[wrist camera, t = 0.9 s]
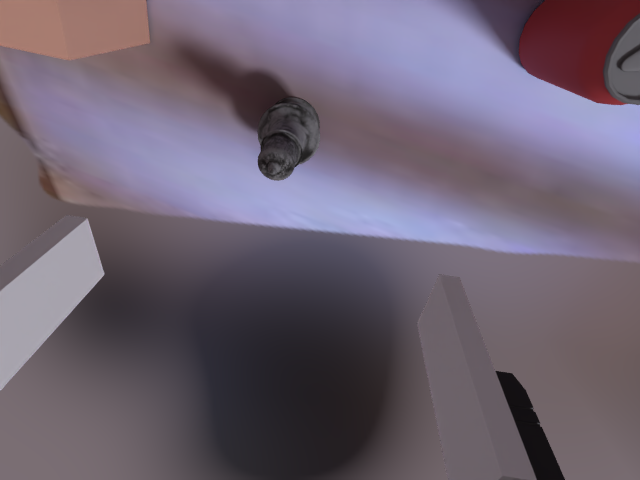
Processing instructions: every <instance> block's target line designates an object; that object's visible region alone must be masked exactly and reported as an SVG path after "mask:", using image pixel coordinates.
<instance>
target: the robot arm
mask: <svg viewBox="0 0 640 480" xmlns="http://www.w3.org/2000/svg"><path fill="white" fill-rule="evenodd" d="M103 275H104V272H103V268H102V265H101V262H100V259H99V255H98V252H97V248H96V245H95V242H94V238H93V235H92V232H91V228H90V225H89V222H88V219H87V218H81V217H75V216H69V215H66V216H65V217H63V218H62V219H61V220H60V221H58V222H57V223H56V224H54V225H53V226H52V227H50V228H49V229H48V230H46V231H45V232H44V233H43V234H41V235H40V236H38V237H37V238H36V239H35V240H33V241H32V242H31V243H29V244H28V245H27V246H25V247H24V248H23V249H21V250H20V251H19V252H17V253H16V254H15V255H13V256H12V257H11V258H10V259H8V260H7V261H6V262H4V263H3V264H2V265H0V390H1V389H2V388H3V387H4V386H5V385H6V384H7V383H8V382H9V380H10V379H11V378H12V377H13V376H14V375H15V374H16V372H18V370H19V369H20V368H21V367H22V366H23V365H24V364H25V363H26V361H27V360H28V359H29V358H30V357H31V356H32V355H33V354H34V353H35V351H36V350H37V349H38V348H39V347H40V346H41V345H42V344H43V342H44V341H45V340H46V339H47V338H48V337H49V336H50V335H51V334H52V332H53V331H54V330H55V329H56V328H57V327H58V326H59V325H60V323H61V322H62V321H63V320H64V319H65V318H66V316H68V315H69V313H70V312H71V311H72V310H73V309H74V308H75V307H76V306H77V305H78V303H79V302H80V301H81V300H82V299H83V298H84V297H85V296H86V294H87V293H88V292H89V291H90V290H91V289H92V288H93V287H94V286H95V284H96V283H97V282H98V281H99V280H100V279H101V278H102V276H103ZM417 324H418V330H419V335H420V340H421V345H422V350H423V355H424V360H425V366H426V371H427V376H428V381H429V386H430V391H431V396H432V401H433V406H434V411H435V416H436V421H437V426H438V431H439V436H440V441H441V446H442V452H443V457H444V462H445V467H446V472H447V477H448V480H565V479H564V477H563V474H562V472H561V470H560V467H559V465H558V463H557V460H556V458H555V456H554V454H553V451H552V449H551V447H550V445H549V442H548V440H547V438H546V436H545V433H544V431H543V429H542V427H540V422H539V420H538V417H537V415H536V413H535V412H534V411H533V406H532V404H531V401H530V399H529V397H528V395H527V392H526V390H525V389H524V388H523V387H522V385H521V384H520V383H519V381H518V380H517V379H516V378H515V377H514V375H513V374H512V373H506V372H499V371H495V369H494V366H493V364H492V361H491V358H490V356H489V353H488V351H487V348H486V345H485V343H484V340H483V337H482V335H481V332H480V330H479V327H478V324H477V322H476V319H475V316H474V314H473V312H472V309H471V306H470V304H469V301H468V298H467V295H466V293H465V290H464V288H463V285H462V283H461V280H460V278H459V277H454V276H448V275H442V274H440V275H439V276H438V278H437V281H436V283H435V285H434V287H433V289H432V292H431V294H430V296H429V298H428V301H427V303H426V305H425V307H424V309H423V312H422V314H421V316H420V318H419V320H418V323H417Z"/></svg>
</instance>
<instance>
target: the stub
mask: <svg viewBox="0 0 640 480" xmlns="http://www.w3.org/2000/svg"><path fill="white" fill-rule="evenodd" d="M148 43H150V38H149V27H148V15H147V4H146V0H0V46H4V47H9V48H14V49H18V50H23V51H28V52H33V53H37V54H42V55H47V56H51V57H56V58H61V59H65V60H74V59H78V58H83V57H88V56H92V55H97V54H102V53H106V52H111V51H116V50H120V49H125V48H130V47H134V46H139V45H144V44H148Z"/></svg>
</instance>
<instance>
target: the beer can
mask: <svg viewBox="0 0 640 480" xmlns="http://www.w3.org/2000/svg"><path fill="white" fill-rule="evenodd" d="M519 56H520V60H521V64H522V65H523V67H524V68H525V69H526V71H527V72H528V73H529V74H531V75H533V76H535V77H537V78H539V79H541V80H544V81H546V82H548V83H551V84H553V85H556V86H558V87H560V88H563V89H565V90H568V91H570V92H572V93H575V94H577V95H580V96H582V97H584V98H587V99H589V100H592V101H594V102H596V103H602V104H611V105H623V104H636V105H640V0H545V1H544V2H543V3H542V4H541V5H540V6H539V7H538V8H537V9H536V10H535V11H534V12H533V13H532V15H531V16H530V18H529V19H528V21H527V22H526V24H525V26H524V29H523V32H522V34H521V37H520V42H519Z"/></svg>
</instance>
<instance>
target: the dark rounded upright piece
mask: <svg viewBox="0 0 640 480" xmlns="http://www.w3.org/2000/svg"><path fill="white" fill-rule="evenodd" d="M319 128H320V126H319V118H318V115H317V113H316V111H315V109H314V108H313V107H312V106H311V105H310V104H309V103H308V102H306V101H304V100H303V99H299V98H296V97H289V98H285V99H282V100H280V101H279V102H277V103H276V104H275V105H274V106H272V107H271V108H269V109H268V110H267V111H266V112H265V113H264V114H263V115H262V117H261V119H260V122H259V124H258V131H257V132H258V140H259V142H260V145H261V152H260V154H259V156H258V167H259V169H260V171H261V172H262V174H263V175H264V176H266V177H267V178H269V179H271V180H278V181H279V180H284V179H286V178H287V177H288V176H290V175H291V173H292V172H293V170H294V167H296V166H297V165H298V164H302V163H304V162H306V161H308V160H309V159H310V158H311V157H312V156H313V155H314V154H315V152H316V150H317V149H318V145H319V142H320V131H319Z"/></svg>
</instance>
